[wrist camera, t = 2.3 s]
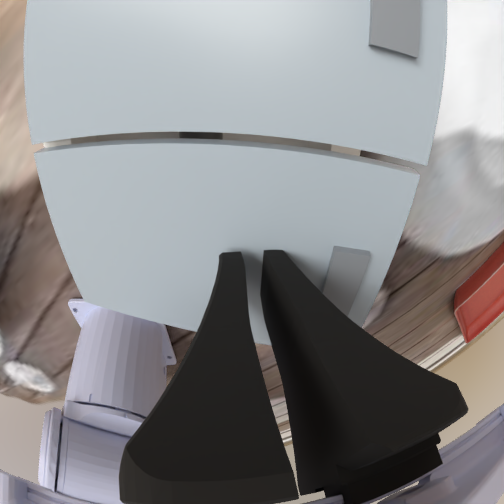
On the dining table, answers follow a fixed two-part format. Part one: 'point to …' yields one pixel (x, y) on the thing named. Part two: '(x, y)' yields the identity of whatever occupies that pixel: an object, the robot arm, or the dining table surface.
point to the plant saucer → (481, 297)
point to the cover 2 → (220, 221)
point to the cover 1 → (239, 70)
